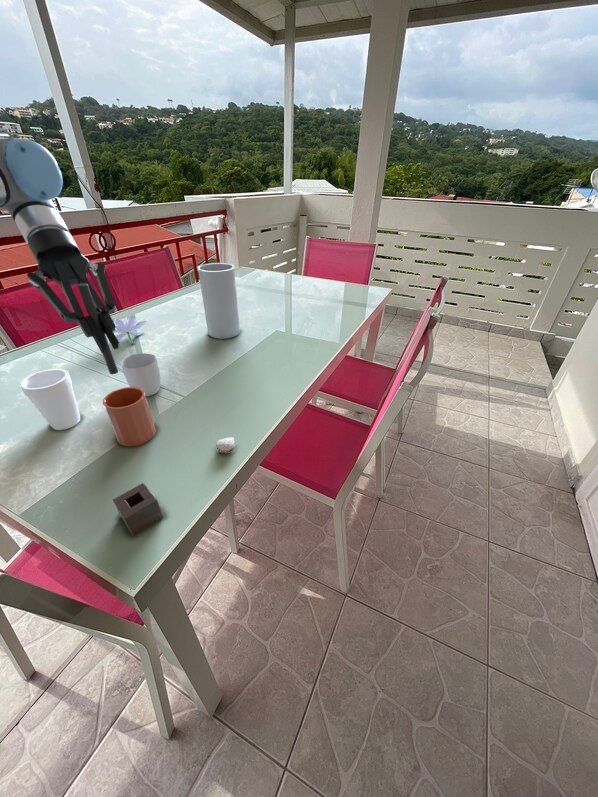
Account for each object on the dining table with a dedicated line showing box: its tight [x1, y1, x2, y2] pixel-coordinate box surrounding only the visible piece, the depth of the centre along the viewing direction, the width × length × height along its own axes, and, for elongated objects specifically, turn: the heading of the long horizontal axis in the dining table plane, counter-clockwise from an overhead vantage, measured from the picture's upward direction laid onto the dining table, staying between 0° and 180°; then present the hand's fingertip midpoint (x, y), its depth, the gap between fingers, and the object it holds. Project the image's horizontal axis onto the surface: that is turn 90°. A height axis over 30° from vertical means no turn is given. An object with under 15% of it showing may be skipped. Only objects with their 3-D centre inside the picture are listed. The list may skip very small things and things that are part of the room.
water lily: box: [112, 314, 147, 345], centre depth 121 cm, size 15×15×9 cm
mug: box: [120, 352, 162, 397], centre depth 95 cm, size 13×9×10 cm
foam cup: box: [19, 368, 81, 431], centre depth 80 cm, size 10×9×13 cm
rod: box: [77, 284, 119, 375], centre depth 64 cm, size 2×2×18 cm
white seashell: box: [215, 437, 236, 454], centre depth 76 cm, size 4×5×2 cm
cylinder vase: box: [197, 262, 241, 340], centre depth 124 cm, size 12×12×25 cm
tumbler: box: [102, 386, 157, 447], centre depth 77 cm, size 9×9×11 cm
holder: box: [112, 482, 164, 537], centre depth 60 cm, size 6×6×5 cm
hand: (110, 347), depth 62 cm, fingers closed on rod, 1 cm apart
